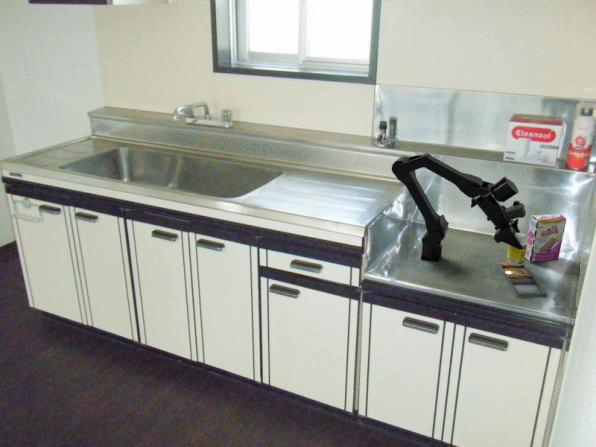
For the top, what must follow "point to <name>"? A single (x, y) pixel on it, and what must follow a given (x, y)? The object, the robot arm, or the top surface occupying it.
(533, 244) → the candy bar box
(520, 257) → the supplement bottle
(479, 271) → the top surface
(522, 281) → the rack
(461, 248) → the top surface
